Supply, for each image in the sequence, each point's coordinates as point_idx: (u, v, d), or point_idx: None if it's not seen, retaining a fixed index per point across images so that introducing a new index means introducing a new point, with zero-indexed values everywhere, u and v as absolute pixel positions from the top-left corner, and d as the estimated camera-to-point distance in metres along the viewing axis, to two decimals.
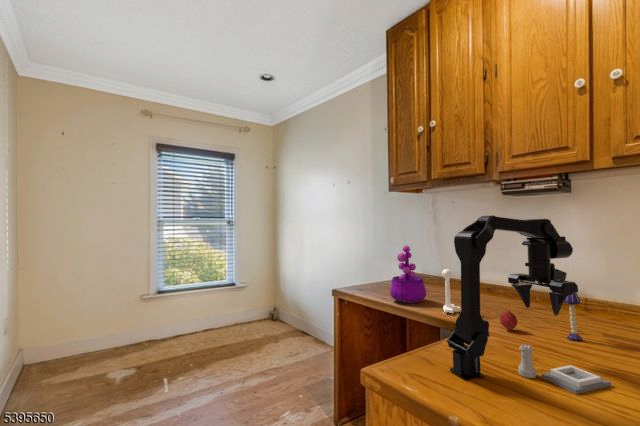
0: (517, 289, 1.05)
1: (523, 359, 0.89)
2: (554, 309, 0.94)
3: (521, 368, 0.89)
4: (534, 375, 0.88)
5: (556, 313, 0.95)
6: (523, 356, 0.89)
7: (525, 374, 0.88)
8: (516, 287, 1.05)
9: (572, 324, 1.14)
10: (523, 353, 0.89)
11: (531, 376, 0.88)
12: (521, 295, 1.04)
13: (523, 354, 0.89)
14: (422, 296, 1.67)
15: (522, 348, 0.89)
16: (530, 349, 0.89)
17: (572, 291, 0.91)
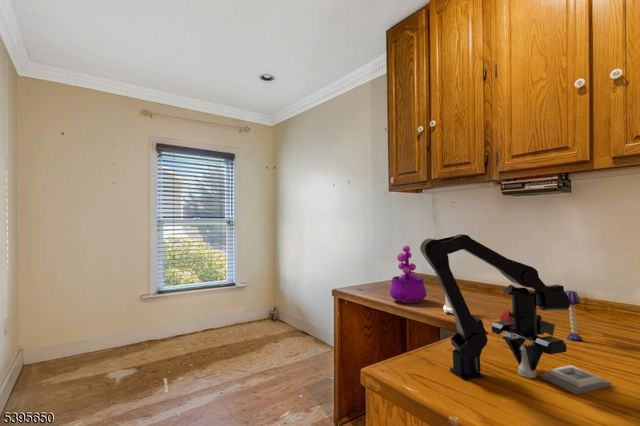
0: (508, 343, 0.92)
1: (523, 359, 0.89)
2: (531, 364, 0.87)
3: (521, 368, 0.89)
4: (534, 375, 0.88)
5: (533, 368, 0.88)
6: (523, 356, 0.89)
7: (525, 374, 0.88)
8: (508, 341, 0.92)
9: (572, 324, 1.14)
10: (523, 353, 0.89)
11: (531, 376, 0.88)
12: (513, 350, 0.92)
13: (523, 354, 0.89)
14: (422, 296, 1.67)
15: (522, 348, 0.89)
16: None
17: (560, 351, 0.81)
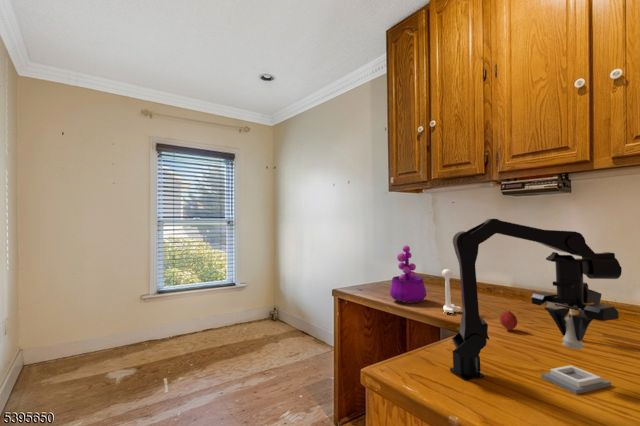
0: (551, 314, 0.88)
1: (568, 330, 0.85)
2: (578, 334, 0.83)
3: (566, 339, 0.85)
4: (581, 346, 0.84)
5: (580, 339, 0.83)
6: (568, 326, 0.85)
7: (571, 345, 0.84)
8: (551, 312, 0.88)
9: None
10: (568, 323, 0.85)
11: (578, 347, 0.84)
12: (557, 321, 0.87)
13: (568, 324, 0.85)
14: (422, 296, 1.67)
15: (567, 318, 0.85)
16: None
17: (612, 318, 0.77)
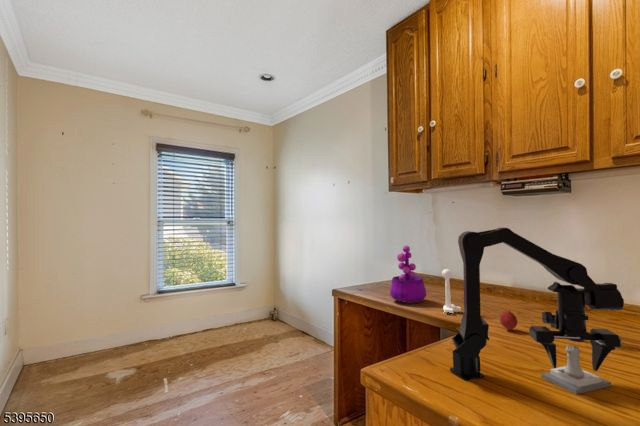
0: (551, 349, 0.84)
1: (575, 362, 0.84)
2: (599, 365, 0.83)
3: (576, 373, 0.84)
4: None
5: None
6: (576, 359, 0.84)
7: (581, 378, 0.83)
8: (552, 347, 0.84)
9: None
10: (575, 356, 0.84)
11: (584, 377, 0.84)
12: (554, 355, 0.85)
13: (576, 357, 0.84)
14: (422, 296, 1.67)
15: (575, 351, 0.84)
16: None
17: None
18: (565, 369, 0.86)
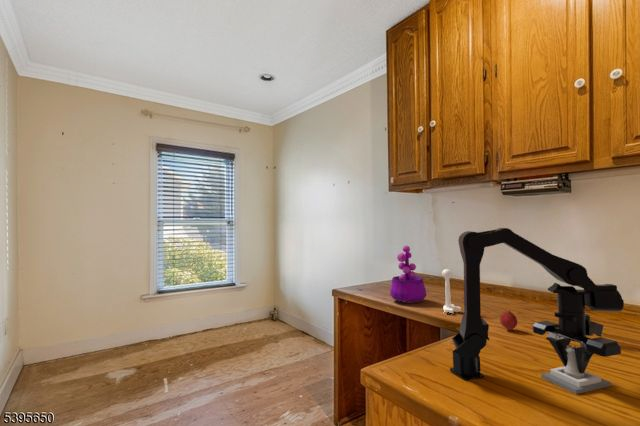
0: (553, 344, 0.88)
1: (576, 362, 0.84)
2: (580, 367, 0.83)
3: (577, 373, 0.84)
4: None
5: (582, 371, 0.83)
6: None
7: (581, 378, 0.83)
8: (553, 343, 0.88)
9: None
10: (575, 356, 0.84)
11: (584, 377, 0.84)
12: (559, 352, 0.87)
13: None
14: (422, 296, 1.67)
15: None
16: None
17: (614, 353, 0.77)
18: (565, 369, 0.86)
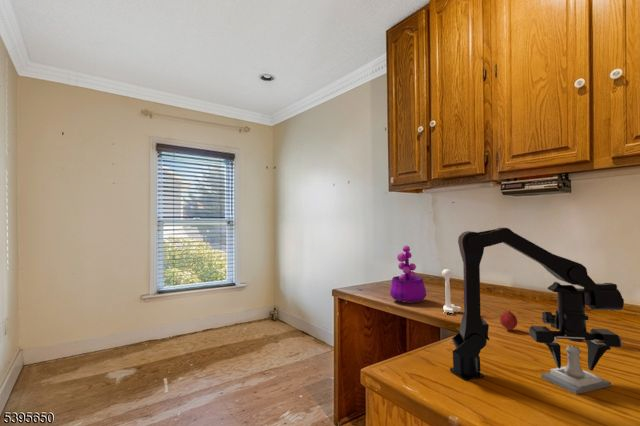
0: (556, 349, 0.84)
1: (579, 362, 0.84)
2: (595, 364, 0.83)
3: (583, 372, 0.84)
4: None
5: None
6: (579, 358, 0.85)
7: None
8: (556, 347, 0.84)
9: None
10: None
11: None
12: (559, 355, 0.85)
13: None
14: (422, 296, 1.67)
15: (579, 350, 0.84)
16: None
17: None
18: (572, 372, 0.84)
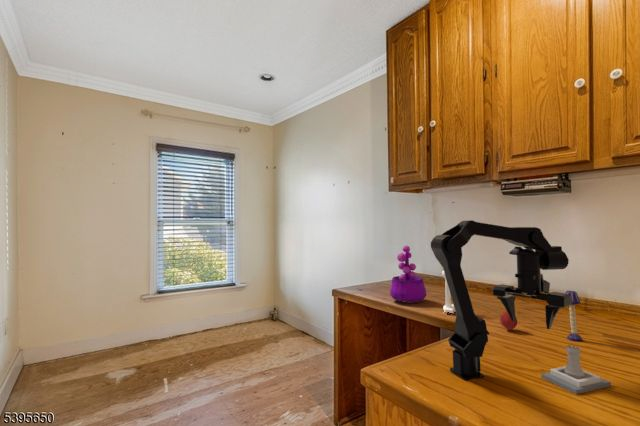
0: (503, 302, 0.98)
1: (579, 362, 0.84)
2: (548, 323, 0.89)
3: (583, 372, 0.84)
4: None
5: (549, 327, 0.90)
6: (579, 358, 0.85)
7: (583, 375, 0.85)
8: (503, 300, 0.97)
9: (572, 324, 1.14)
10: None
11: None
12: (508, 308, 0.97)
13: None
14: (422, 296, 1.67)
15: (579, 350, 0.84)
16: None
17: (568, 303, 0.87)
18: (572, 372, 0.84)
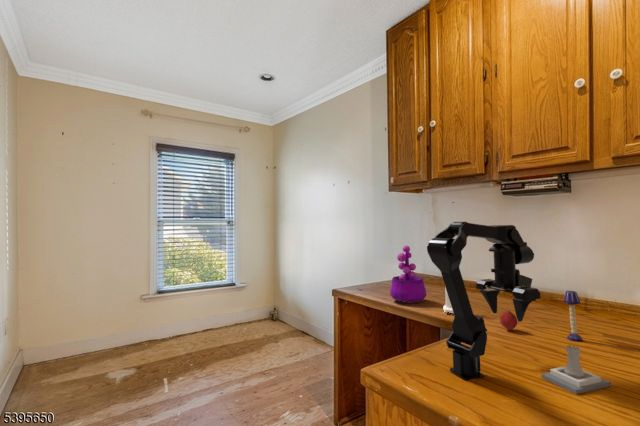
0: (484, 295, 1.05)
1: (579, 362, 0.84)
2: (518, 315, 0.94)
3: (583, 372, 0.84)
4: None
5: (520, 319, 0.95)
6: (579, 358, 0.85)
7: (583, 375, 0.85)
8: (483, 293, 1.05)
9: (572, 324, 1.14)
10: None
11: None
12: (488, 301, 1.04)
13: None
14: (422, 296, 1.67)
15: (579, 350, 0.84)
16: None
17: (534, 298, 0.91)
18: (572, 372, 0.84)
